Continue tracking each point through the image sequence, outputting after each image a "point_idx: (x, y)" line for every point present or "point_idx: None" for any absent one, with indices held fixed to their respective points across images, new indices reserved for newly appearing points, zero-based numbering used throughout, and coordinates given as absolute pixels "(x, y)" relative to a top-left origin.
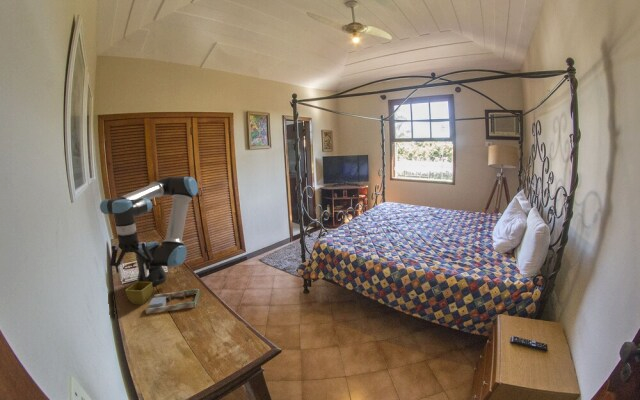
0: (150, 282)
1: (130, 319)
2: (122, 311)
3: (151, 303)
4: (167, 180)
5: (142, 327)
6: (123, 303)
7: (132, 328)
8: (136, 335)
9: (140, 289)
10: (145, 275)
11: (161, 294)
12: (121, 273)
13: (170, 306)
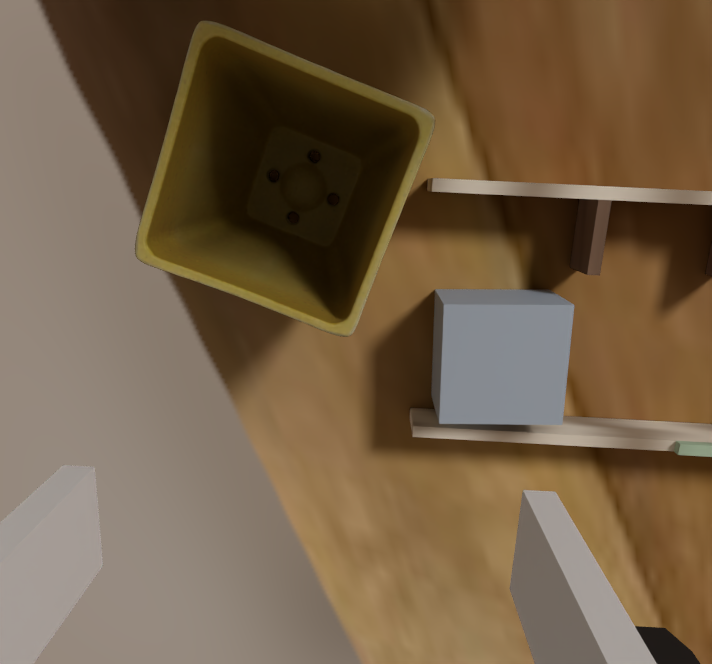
0: (408, 114)
1: (305, 456)
2: (191, 316)
3: (459, 404)
4: None
5: (427, 579)
6: (138, 169)
7: (360, 570)
8: (411, 648)
9: (261, 75)
10: (520, 612)
11: (507, 194)
12: (33, 636)
13: (622, 446)
